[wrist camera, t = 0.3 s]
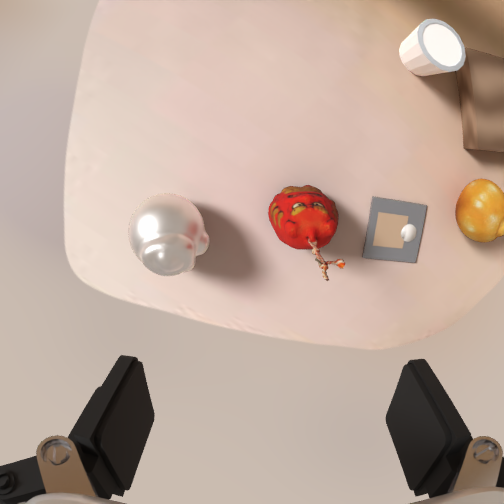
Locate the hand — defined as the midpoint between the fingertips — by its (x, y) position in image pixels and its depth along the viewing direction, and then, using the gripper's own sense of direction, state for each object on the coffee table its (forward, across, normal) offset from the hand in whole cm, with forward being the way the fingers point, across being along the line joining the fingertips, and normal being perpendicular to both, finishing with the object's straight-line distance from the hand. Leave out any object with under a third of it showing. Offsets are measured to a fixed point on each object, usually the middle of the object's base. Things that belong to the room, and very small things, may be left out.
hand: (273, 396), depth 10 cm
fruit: (+31, -28, -3) cm, 42 cm away
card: (+30, -17, +1) cm, 35 cm away
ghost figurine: (+31, +11, +2) cm, 33 cm away
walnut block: (+31, -33, -18) cm, 49 cm away
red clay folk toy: (+31, -4, 0) cm, 31 cm away
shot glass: (+31, -20, -22) cm, 43 cm away
